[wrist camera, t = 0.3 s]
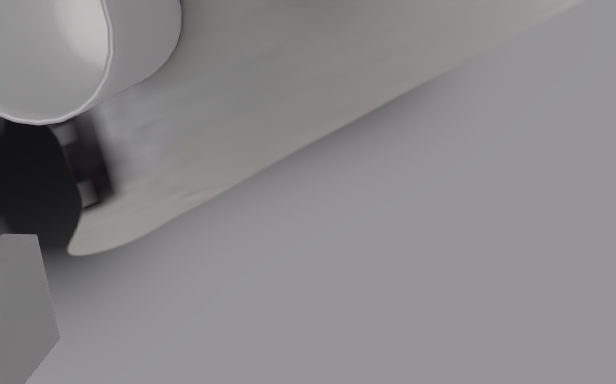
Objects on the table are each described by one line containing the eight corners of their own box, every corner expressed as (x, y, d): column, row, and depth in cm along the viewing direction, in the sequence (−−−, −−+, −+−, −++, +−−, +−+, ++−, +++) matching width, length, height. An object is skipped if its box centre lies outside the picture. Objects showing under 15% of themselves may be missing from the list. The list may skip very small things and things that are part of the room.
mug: (192, 80, 38) (129, 125, 27) (27, 81, 39) (-97, 124, 28) (177, -69, 34) (97, -87, 23) (-4, -65, 35) (-161, -79, 24)
